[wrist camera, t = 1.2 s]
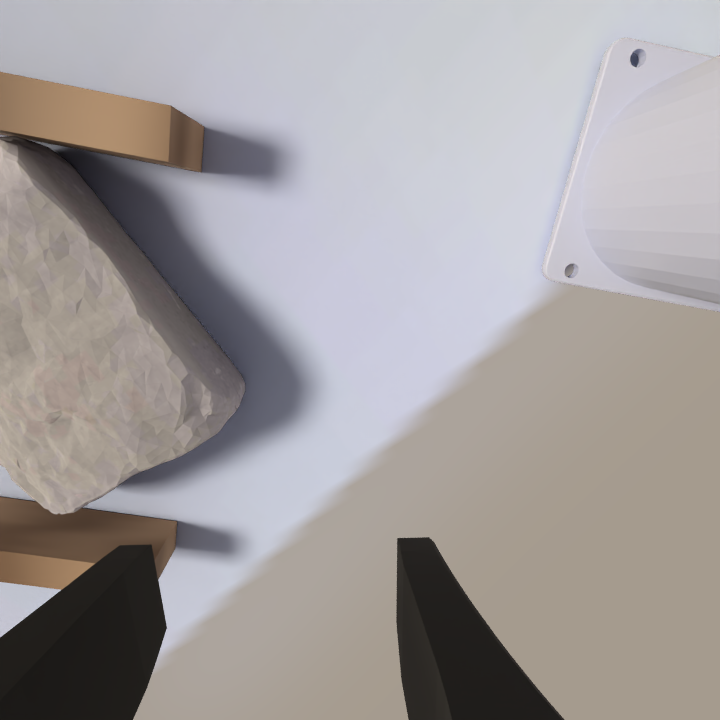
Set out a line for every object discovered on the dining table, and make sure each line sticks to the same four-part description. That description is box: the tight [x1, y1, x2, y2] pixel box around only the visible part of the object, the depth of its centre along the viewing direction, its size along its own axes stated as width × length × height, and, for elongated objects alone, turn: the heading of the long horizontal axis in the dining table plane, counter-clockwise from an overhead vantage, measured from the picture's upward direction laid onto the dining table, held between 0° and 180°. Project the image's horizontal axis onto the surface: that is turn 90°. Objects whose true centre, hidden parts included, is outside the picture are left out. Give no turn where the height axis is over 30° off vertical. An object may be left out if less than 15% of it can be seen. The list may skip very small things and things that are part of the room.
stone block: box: [0, 136, 245, 514], centre depth 17 cm, size 12×5×10 cm
